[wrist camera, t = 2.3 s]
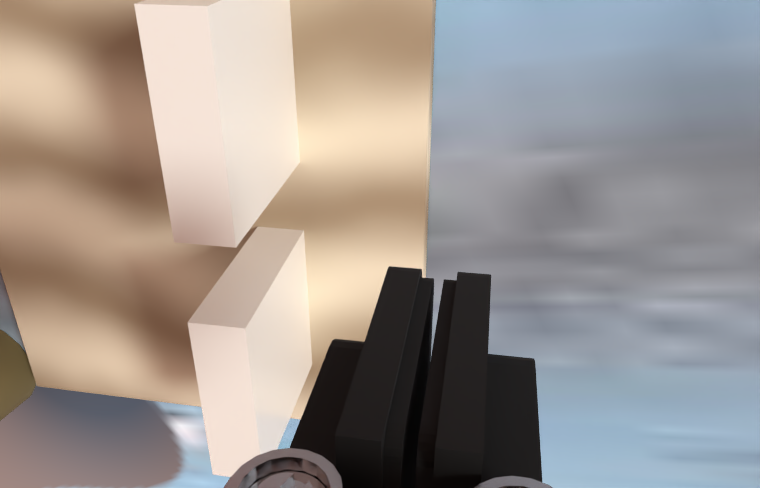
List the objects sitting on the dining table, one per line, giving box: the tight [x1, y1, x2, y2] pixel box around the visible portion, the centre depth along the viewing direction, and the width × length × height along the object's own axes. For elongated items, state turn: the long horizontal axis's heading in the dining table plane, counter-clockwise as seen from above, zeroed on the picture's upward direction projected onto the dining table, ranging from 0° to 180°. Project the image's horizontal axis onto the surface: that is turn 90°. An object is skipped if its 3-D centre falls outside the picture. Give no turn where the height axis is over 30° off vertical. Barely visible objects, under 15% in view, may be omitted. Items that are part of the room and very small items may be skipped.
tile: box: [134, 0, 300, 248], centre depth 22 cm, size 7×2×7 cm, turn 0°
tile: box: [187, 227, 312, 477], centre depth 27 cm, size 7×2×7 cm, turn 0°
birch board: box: [0, 0, 436, 419], centre depth 29 cm, size 24×20×1 cm
